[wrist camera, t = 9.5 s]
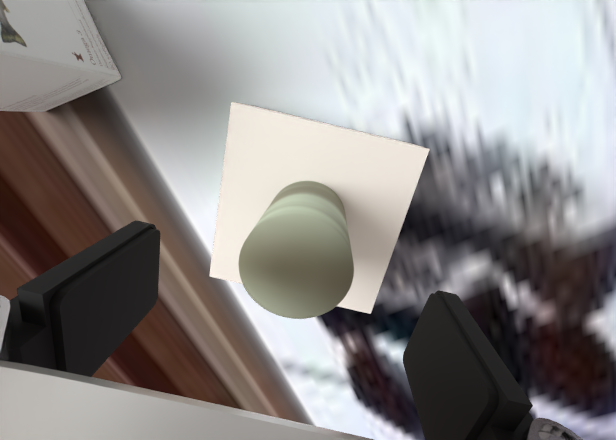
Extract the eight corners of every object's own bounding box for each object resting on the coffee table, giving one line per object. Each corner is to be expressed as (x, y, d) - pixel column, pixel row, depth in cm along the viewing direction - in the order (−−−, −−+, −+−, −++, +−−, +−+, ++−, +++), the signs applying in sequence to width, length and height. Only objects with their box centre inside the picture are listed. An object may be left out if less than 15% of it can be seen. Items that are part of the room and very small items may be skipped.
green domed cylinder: (277, 172, 18) (247, 202, 12) (354, 190, 18) (368, 231, 12) (263, 243, 20) (231, 304, 13) (334, 260, 20) (337, 329, 14)
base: (248, 104, 21) (231, 101, 17) (411, 143, 21) (429, 149, 17) (227, 252, 25) (209, 276, 21) (364, 284, 25) (370, 313, 21)
